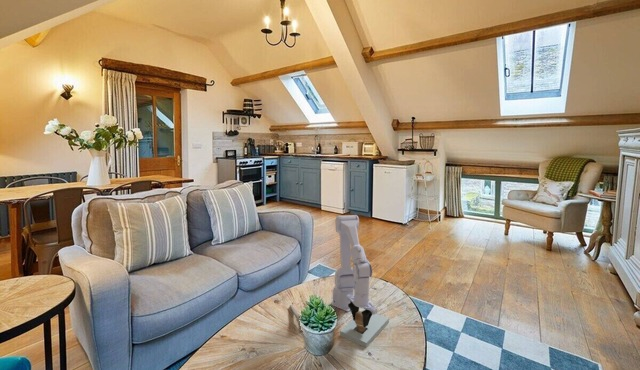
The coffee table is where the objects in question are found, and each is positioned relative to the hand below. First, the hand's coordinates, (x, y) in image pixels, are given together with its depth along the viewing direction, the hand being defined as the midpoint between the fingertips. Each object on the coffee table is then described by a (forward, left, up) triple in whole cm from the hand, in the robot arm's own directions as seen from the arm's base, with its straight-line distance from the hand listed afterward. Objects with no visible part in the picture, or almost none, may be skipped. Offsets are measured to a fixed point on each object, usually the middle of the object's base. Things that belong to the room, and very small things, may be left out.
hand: (360, 322), depth 126 cm
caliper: (-28, -8, -5) cm, 30 cm away
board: (0, +4, -5) cm, 6 cm away
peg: (0, 0, -3) cm, 3 cm away
